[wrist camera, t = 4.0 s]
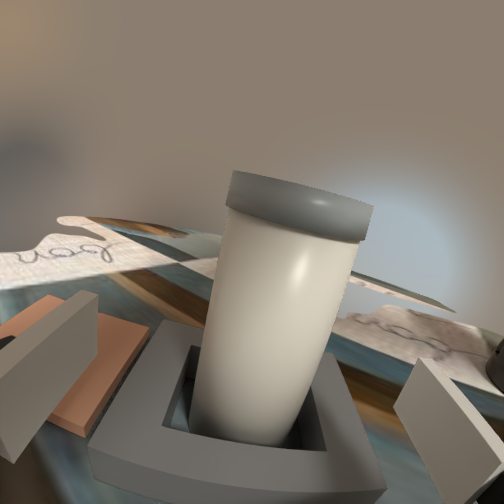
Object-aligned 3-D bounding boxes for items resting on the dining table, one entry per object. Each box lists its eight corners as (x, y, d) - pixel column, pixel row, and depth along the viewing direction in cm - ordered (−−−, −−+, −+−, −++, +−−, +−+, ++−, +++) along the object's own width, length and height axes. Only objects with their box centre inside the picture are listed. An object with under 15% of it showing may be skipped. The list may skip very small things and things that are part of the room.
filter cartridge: (285, 402, 21) (349, 200, 18) (293, 471, 14) (397, 212, 11) (194, 385, 21) (237, 172, 18) (175, 453, 14) (226, 167, 11)
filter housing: (321, 381, 25) (333, 353, 24) (360, 516, 11) (387, 488, 10) (159, 349, 24) (163, 318, 24) (94, 478, 11) (86, 445, 10)
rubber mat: (148, 336, 26) (149, 327, 25) (85, 438, 13) (83, 427, 13) (48, 303, 25) (48, 294, 25) (-39, 367, 12) (-42, 355, 12)
